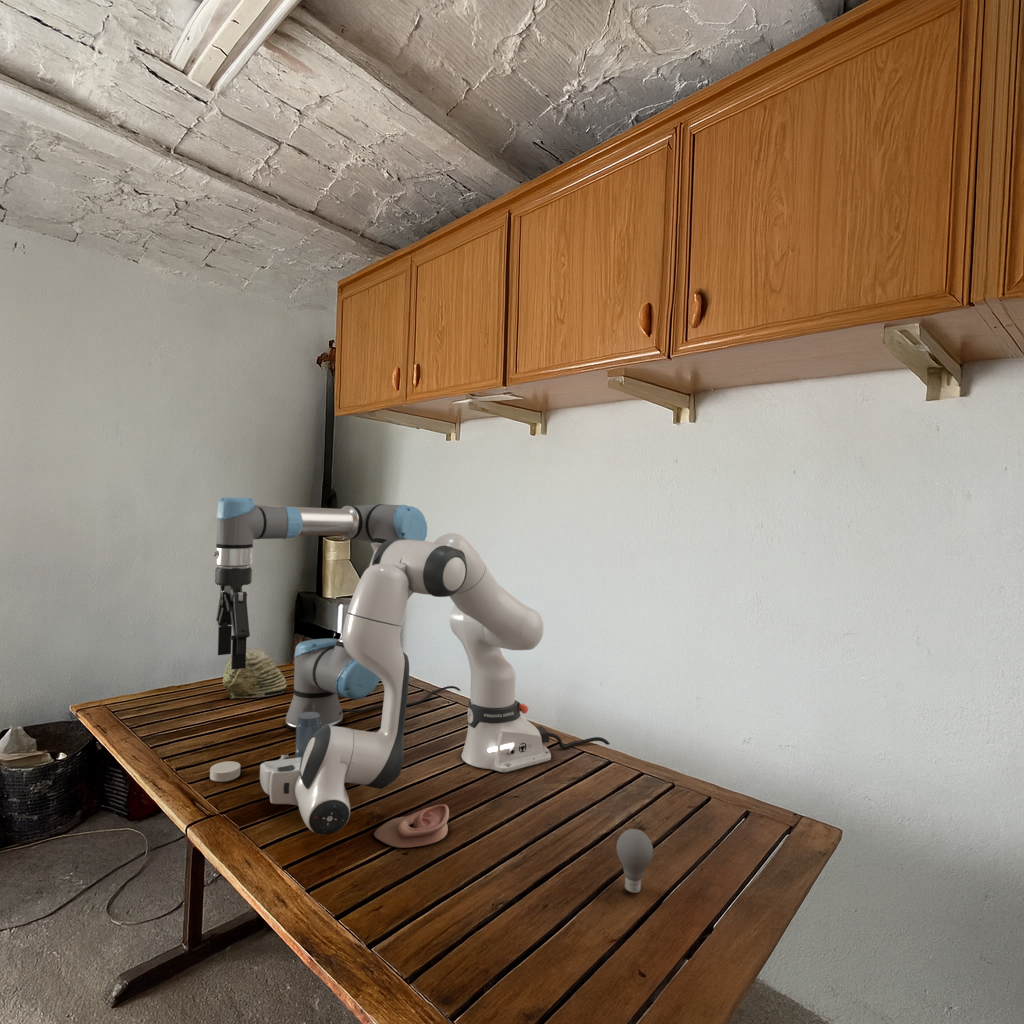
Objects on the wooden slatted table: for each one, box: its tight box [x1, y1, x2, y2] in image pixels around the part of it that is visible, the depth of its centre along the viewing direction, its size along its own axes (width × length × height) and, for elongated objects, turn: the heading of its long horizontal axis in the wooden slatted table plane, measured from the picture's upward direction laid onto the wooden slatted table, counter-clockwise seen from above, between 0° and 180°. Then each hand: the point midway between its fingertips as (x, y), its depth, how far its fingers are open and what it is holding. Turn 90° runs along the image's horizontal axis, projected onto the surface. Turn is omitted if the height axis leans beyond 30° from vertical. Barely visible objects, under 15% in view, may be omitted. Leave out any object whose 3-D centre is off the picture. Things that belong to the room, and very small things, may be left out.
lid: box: [209, 760, 241, 783], centre depth 142 cm, size 6×6×2 cm
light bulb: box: [615, 828, 654, 894], centre depth 106 cm, size 6×6×10 cm
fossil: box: [222, 646, 288, 699], centre depth 198 cm, size 9×18×15 cm, turn 132°
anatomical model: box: [373, 803, 450, 849], centre depth 121 cm, size 13×4×12 cm
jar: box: [294, 712, 322, 758], centre depth 139 cm, size 5×5×15 cm
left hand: (231, 661), depth 142 cm, fingers open, 13 cm apart
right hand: (307, 755), depth 140 cm, fingers open, 8 cm apart
